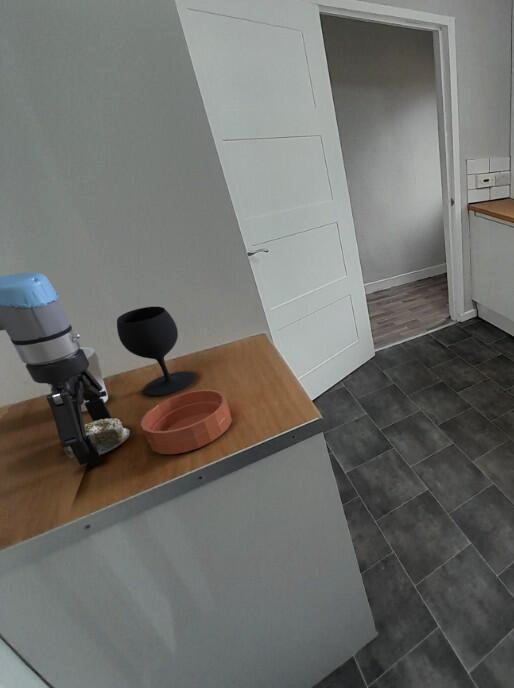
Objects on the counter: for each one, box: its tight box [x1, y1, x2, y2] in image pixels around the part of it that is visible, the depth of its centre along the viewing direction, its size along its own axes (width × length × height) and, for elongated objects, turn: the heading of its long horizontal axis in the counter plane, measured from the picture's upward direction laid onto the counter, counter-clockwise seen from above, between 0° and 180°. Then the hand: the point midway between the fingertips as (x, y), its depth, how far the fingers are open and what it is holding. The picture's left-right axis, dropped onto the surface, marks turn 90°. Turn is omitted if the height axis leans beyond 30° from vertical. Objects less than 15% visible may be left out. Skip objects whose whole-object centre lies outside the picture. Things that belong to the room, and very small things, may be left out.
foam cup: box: [47, 346, 109, 413], centre depth 93 cm, size 10×9×13 cm
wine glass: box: [116, 306, 196, 398], centre depth 99 cm, size 10×10×20 cm
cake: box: [61, 417, 130, 459], centre depth 83 cm, size 10×10×5 cm
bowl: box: [140, 388, 233, 455], centre depth 87 cm, size 14×14×6 cm
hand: (99, 444), depth 84 cm, fingers open, 13 cm apart
